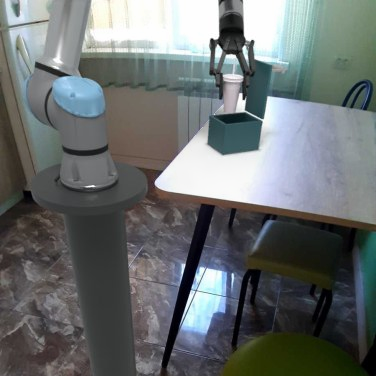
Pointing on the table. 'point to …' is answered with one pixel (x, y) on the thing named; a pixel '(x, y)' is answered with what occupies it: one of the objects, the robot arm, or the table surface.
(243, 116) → the teal open box
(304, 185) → the table surface
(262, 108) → the lid
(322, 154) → the table surface
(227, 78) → the smoothie
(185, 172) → the table surface
